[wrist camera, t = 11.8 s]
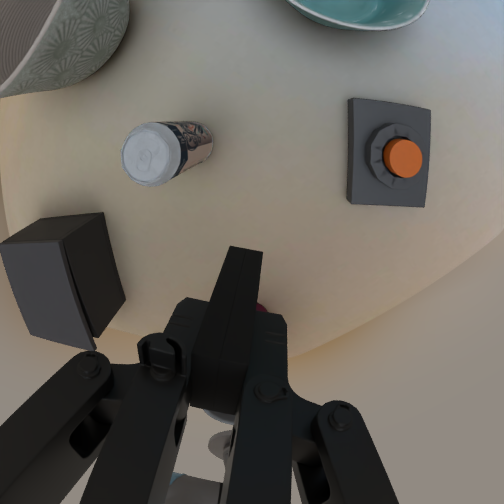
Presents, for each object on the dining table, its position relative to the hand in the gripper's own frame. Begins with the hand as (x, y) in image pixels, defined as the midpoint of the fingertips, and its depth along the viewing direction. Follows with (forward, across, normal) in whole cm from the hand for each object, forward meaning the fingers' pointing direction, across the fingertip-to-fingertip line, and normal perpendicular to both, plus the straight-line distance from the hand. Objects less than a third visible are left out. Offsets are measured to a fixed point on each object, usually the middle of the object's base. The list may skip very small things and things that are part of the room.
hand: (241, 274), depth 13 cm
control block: (+19, +12, +7) cm, 23 cm away
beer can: (+19, -8, +4) cm, 21 cm away
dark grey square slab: (+9, -25, -15) cm, 30 cm away
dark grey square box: (+19, -25, -14) cm, 34 cm away
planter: (+19, -24, +18) cm, 36 cm away
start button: (+15, +13, +7) cm, 21 cm away
